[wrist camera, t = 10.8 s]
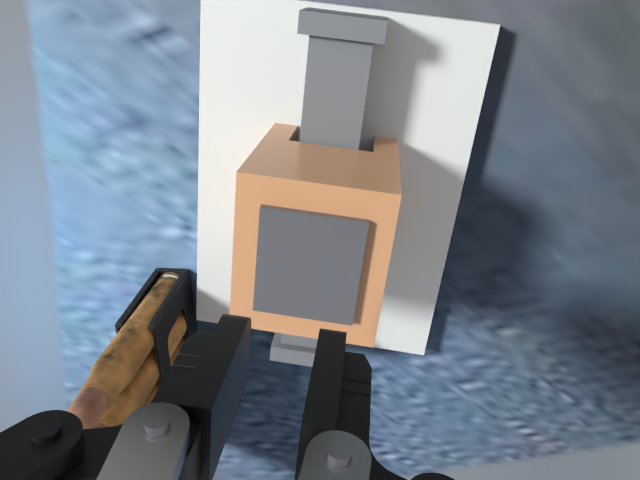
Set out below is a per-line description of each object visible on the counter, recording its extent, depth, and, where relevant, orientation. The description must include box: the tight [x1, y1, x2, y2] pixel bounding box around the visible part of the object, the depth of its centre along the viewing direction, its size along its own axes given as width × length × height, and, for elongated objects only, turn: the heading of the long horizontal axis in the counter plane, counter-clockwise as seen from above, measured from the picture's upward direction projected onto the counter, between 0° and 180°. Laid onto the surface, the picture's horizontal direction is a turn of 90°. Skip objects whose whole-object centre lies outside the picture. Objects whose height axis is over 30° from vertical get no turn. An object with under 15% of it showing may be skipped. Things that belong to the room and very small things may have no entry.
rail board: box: [196, 0, 500, 367], centre depth 25 cm, size 12×16×4 cm
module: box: [230, 123, 402, 348], centre depth 22 cm, size 5×6×7 cm
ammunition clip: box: [67, 268, 197, 429], centre depth 26 cm, size 11×2×12 cm, turn 1°
